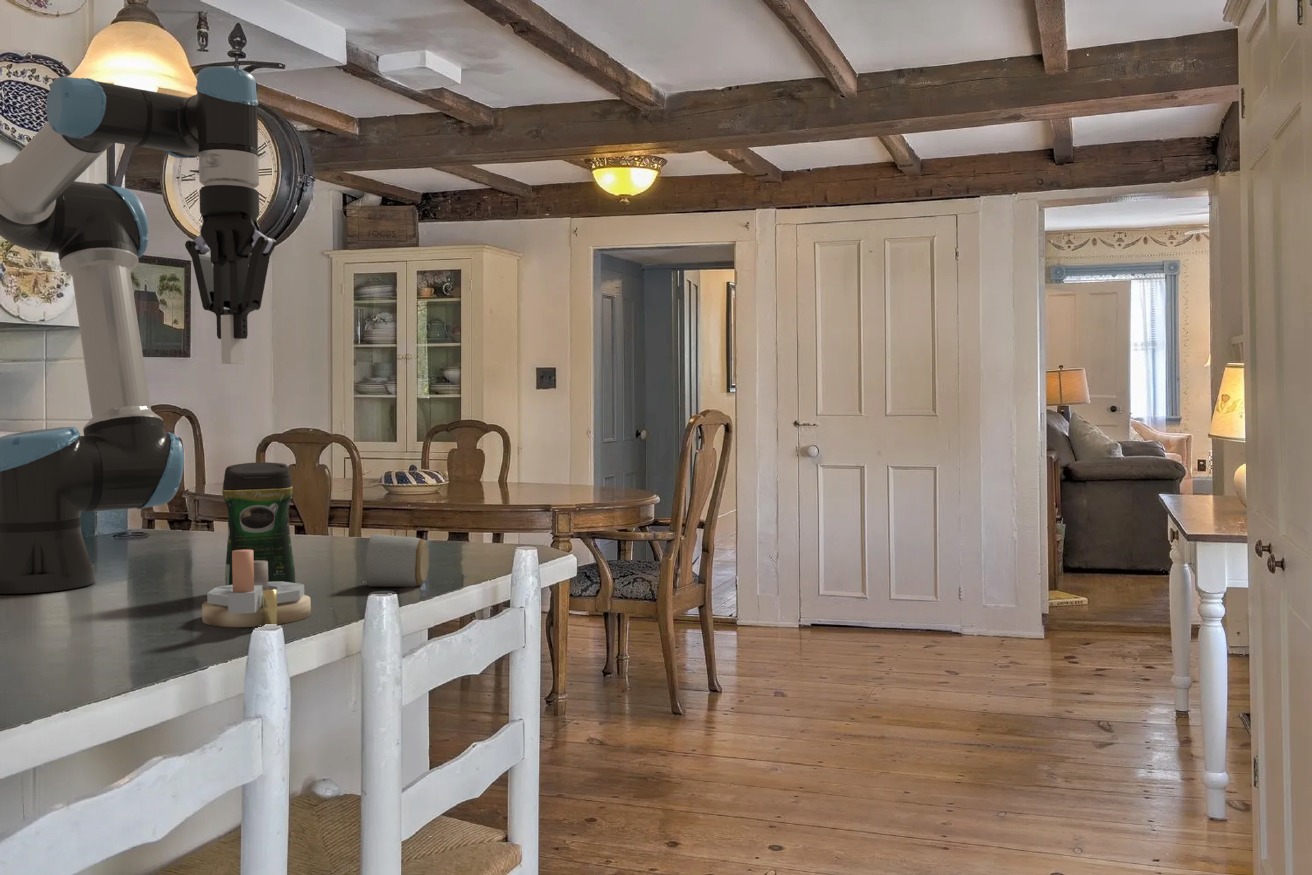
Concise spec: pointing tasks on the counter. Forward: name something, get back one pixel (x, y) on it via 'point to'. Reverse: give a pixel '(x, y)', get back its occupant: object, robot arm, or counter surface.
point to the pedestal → (285, 611)
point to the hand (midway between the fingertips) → (232, 363)
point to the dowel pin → (270, 606)
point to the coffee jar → (259, 516)
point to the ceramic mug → (396, 561)
